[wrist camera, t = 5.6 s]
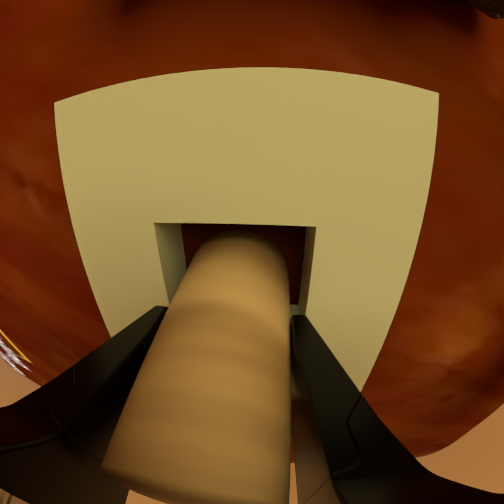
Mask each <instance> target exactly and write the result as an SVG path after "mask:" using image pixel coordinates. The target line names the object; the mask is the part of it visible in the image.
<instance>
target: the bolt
mask: <svg viewBox="0 0 504 504" xmlns="http://www.w3.org/2000/svg"><path fill="white" fill-rule="evenodd" d="M464 1H467V2H468V3H469V4H471V5H473V6H475V7H476V8H477V9H479V10H480V11H481V12H483V13H485V14H486V15H487V16H489V17H491V18H494V19H497V18H498V19H499V18H501V19H502V18H504V0H464Z"/></svg>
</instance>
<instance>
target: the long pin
mask: <svg viewBox="0 0 504 504" xmlns="http://www.w3.org/2000/svg"><path fill="white" fill-rule="evenodd" d="M290 460H291V332H290V298H289V272H288V265H287V262H286V259H285V257H284V255H283V254H282V252H281V251H280V249H279V248H278V247H277V246H276V245H275V244H274V243H272V242H271V241H270V240H268V239H267V238H265V237H263V236H261V235H259V234H257V233H254V232H250V231H245V230H229V231H224V232H220V233H218V234H215V235H213V236H211V237H210V238H208V239H207V240H206V241H205V242H203V243H202V245H201V246H200V247H199V248H198V250H197V252H196V254H195V256H194V257H193V259H192V261H191V263H190V265H189V267H188V269H187V271H186V273H185V275H184V277H183V279H182V281H181V283H180V285H179V287H178V289H177V291H176V293H175V295H174V297H173V299H172V301H171V304H170V306H169V308H168V310H167V312H166V314H165V316H164V318H163V320H162V322H161V324H160V327H159V329H158V331H157V333H156V335H155V337H154V339H153V342H152V344H151V346H150V348H149V350H148V353H147V355H146V357H145V359H144V362H143V364H142V366H141V368H140V371H139V373H138V375H137V377H136V380H135V382H134V384H133V387H132V389H131V391H130V394H129V396H128V398H127V401H126V403H125V406H124V408H123V411H122V413H121V415H120V418H119V420H118V423H117V425H116V428H115V430H114V433H113V435H112V438H111V441H110V443H109V446H108V448H107V451H106V454H105V456H104V459H103V462H102V465H101V467H100V470H101V472H102V473H103V474H104V475H106V476H107V477H108V478H110V479H111V480H113V481H115V482H116V483H118V484H120V485H122V486H124V487H126V488H128V489H130V490H132V491H135V492H137V493H139V494H142V495H144V496H147V497H149V498H152V499H155V500H158V501H161V502H165V503H167V504H289V490H290V489H289V488H290Z"/></svg>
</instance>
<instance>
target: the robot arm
mask: <svg viewBox="0 0 504 504" xmlns="http://www.w3.org/2000/svg"><path fill="white" fill-rule="evenodd" d="M168 308H169V307H167V306H159V305H157V306H155V307H153V308H152V309H150V310H149V311H147V312H146V313H145V314H143V315H142V316H140V317H139V318H138V319H136V320H135V321H133V322H132V323H131V324H129V325H128V326H127V327H125V328H124V329H122V330H121V331H120V332H118V333H117V334H115V335H114V336H113V337H111V338H110V339H109V340H107V341H106V342H104V343H103V344H102V345H100V346H99V347H98V348H96V349H95V350H93V351H92V352H91V353H89V354H88V355H87V356H85V357H84V358H82V359H81V360H80V361H78V362H77V363H76V365H73V366H71V367H70V368H69V369H67V370H66V371H65V372H63V373H62V374H60V375H59V376H57V377H56V378H55V379H53V380H51V381H50V382H48V383H47V384H45V385H44V386H42V387H40V388H39V389H37V390H35V391H34V392H32V393H30V394H29V395H27V396H25V397H24V398H22V399H20V400H18V401H17V402H15V403H13V404H11V405H9V406H6V407H1V408H0V504H125V503H126V499H127V496H128V492H129V489H128V488H126V487H124V486H122V485H120V484H118V483H116V482H115V481H113V480H111V479H110V478H108V477H107V476H106V475H104V474H103V473H102V472H101V470H100V467H101V465H102V462H103V459H104V456H105V454H106V451H107V448H108V446H109V443H110V441H111V438H112V435H113V433H114V430H115V428H116V425H117V423H118V420H119V418H120V415H121V413H122V411H123V408H124V406H125V403H126V401H127V398H128V396H129V394H130V391H131V389H132V387H133V384H134V382H135V380H136V377H137V375H138V373H139V371H140V368H141V366H142V364H143V362H144V359H145V357H146V355H147V353H148V350H149V348H150V346H151V344H152V342H153V339H154V337H155V335H156V333H157V331H158V329H159V327H160V324H161V322H162V320H163V318H164V316H165V314H166V312H167V310H168ZM290 332H291V425H292V436H293V447H294V459H295V471H296V483H297V495H298V504H504V494H498V493H491V492H487V491H484V490H480V489H477V488H473V487H470V486H467V485H463V484H460V483H457V482H454V481H451V480H448V479H445V478H443V477H440V476H437V475H436V474H433V473H432V472H430V471H429V470H427V469H426V468H425V467H424V466H422V465H421V464H420V463H419V462H418V461H417V460H416V458H415V457H414V456H413V455H412V454H411V453H410V452H409V451H408V450H407V449H406V448H405V447H404V446H403V445H402V443H401V442H400V441H399V440H398V439H397V438H396V437H395V436H394V435H393V434H392V433H391V431H390V430H389V429H388V428H387V427H386V426H385V424H384V423H383V422H382V421H381V420H380V419H379V417H378V416H377V415H376V413H375V412H374V411H373V409H372V408H371V407H370V405H369V404H368V402H367V401H366V399H365V398H364V397H361V396H362V394H361V392H360V391H359V390H358V388H357V387H356V385H355V384H354V382H353V381H352V380H351V378H350V377H349V375H348V374H347V373H346V371H345V370H344V368H343V367H342V365H341V364H340V363H339V361H338V360H337V358H336V357H335V356H334V354H333V353H332V351H331V350H330V349H329V347H328V346H327V344H326V343H325V341H324V340H323V339H322V337H321V336H320V334H319V333H318V332H317V330H316V329H315V327H314V326H313V325H312V323H311V322H310V320H309V319H308V318H307V316H306V315H295V314H294V315H292V316H291V323H290Z"/></svg>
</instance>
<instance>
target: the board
mask: <svg viewBox="0 0 504 504" xmlns="http://www.w3.org/2000/svg"><path fill="white" fill-rule="evenodd" d="M438 102H439V93H436V92H432V91H429V90H425V89H422V88H418V87H414V86H410V85H406V84H402V83H398V82H393V81H389V80H384V79H378V78H373V77H367V76H361V75H355V74H348V73H341V72H332V71H323V70H311V69H296V68H226V69H211V70H200V71H190V72H182V73H174V74H167V75H161V76H155V77H149V78H144V79H138V80H133V81H129V82H124V83H120V84H116V85H111V86H107V87H104V88H100V89H96V90H92V91H89V92H86V93H82V94H79V95H76V96H73V97H70V98H67V99H64V100H61V101H58V102H55V103H54V107H55V122H56V133H57V142H58V150H59V158H60V165H61V171H62V177H63V183H64V188H65V193H66V198H67V203H68V207H69V212H70V216H71V220H72V224H73V228H74V232H75V236H76V240H77V243H78V247H79V250H80V254H81V257H82V261H83V264H84V267H85V270H86V273H87V276H88V279H89V282H90V285H91V288H92V291H93V294H94V296H95V299H96V302H97V304H98V307H99V310H100V312H101V315H102V317H103V320H104V322H105V325H106V327H107V329H108V332H109V334H110V336H111V337H113V336H114V335H115V334H117V333H118V332H120V331H121V330H122V329H124V328H125V327H127V326H128V325H129V324H131V323H132V322H133V321H135V320H136V319H138V318H139V317H140V316H142V315H143V314H145V313H146V312H147V311H149V310H150V309H152V308H153V307H155V306H157V305H159V306H167V307H169V306H170V304H171V301H172V299H173V297H174V295H175V293H176V291H177V289H178V287H179V285H180V283H181V281H182V279H183V277H184V275H185V273H186V271H187V268H186V261H185V253H184V246H183V238H182V229H181V223H218V224H257V225H287V226H306V234H305V245H304V256H303V266H302V276H301V285H300V294H299V303H298V305H290V323H291V316H292V315H294V314H295V315H306V316H307V318H308V319H309V320H310V322H311V323H312V325H313V326H314V327H315V329H316V330H317V332H318V333H319V334H320V336H321V337H322V339H323V340H324V341H325V343H326V344H327V346H328V347H329V349H330V350H331V351H332V353H333V354H334V356H335V357H336V358H337V360H338V361H339V363H340V364H341V365H342V367H343V368H344V370H345V371H346V373H347V374H348V375H349V377H350V378H351V380H352V381H353V382H354V384H355V385H356V387H357V388H358V390H359V391H360V392H361V390H362V388H363V386H364V384H365V382H366V380H367V378H368V376H369V374H370V372H371V370H372V367H373V365H374V363H375V361H376V359H377V356H378V354H379V352H380V350H381V347H382V345H383V342H384V340H385V338H386V335H387V333H388V330H389V328H390V325H391V322H392V320H393V317H394V315H395V312H396V309H397V306H398V303H399V301H400V298H401V295H402V292H403V289H404V286H405V283H406V280H407V276H408V273H409V270H410V266H411V263H412V260H413V256H414V252H415V249H416V245H417V241H418V237H419V233H420V229H421V225H422V220H423V216H424V211H425V206H426V201H427V196H428V191H429V185H430V179H431V173H432V166H433V159H434V151H435V142H436V132H437V120H438Z"/></svg>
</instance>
